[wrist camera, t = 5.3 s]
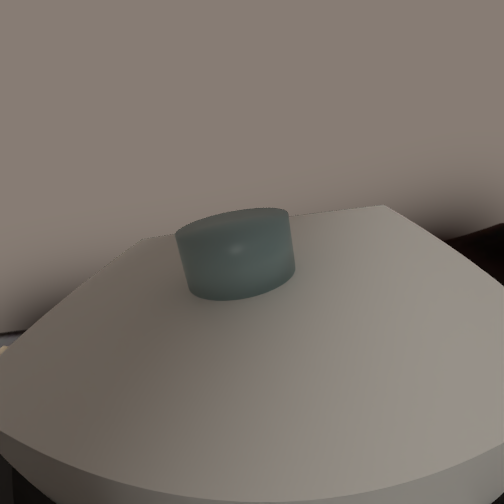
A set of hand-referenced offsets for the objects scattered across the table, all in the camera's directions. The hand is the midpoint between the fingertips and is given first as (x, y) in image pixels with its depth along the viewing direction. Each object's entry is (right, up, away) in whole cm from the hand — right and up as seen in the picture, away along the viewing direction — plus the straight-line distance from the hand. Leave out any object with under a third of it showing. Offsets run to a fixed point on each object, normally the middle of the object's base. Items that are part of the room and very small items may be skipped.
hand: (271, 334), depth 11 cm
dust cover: (+1, -7, -1) cm, 7 cm away
